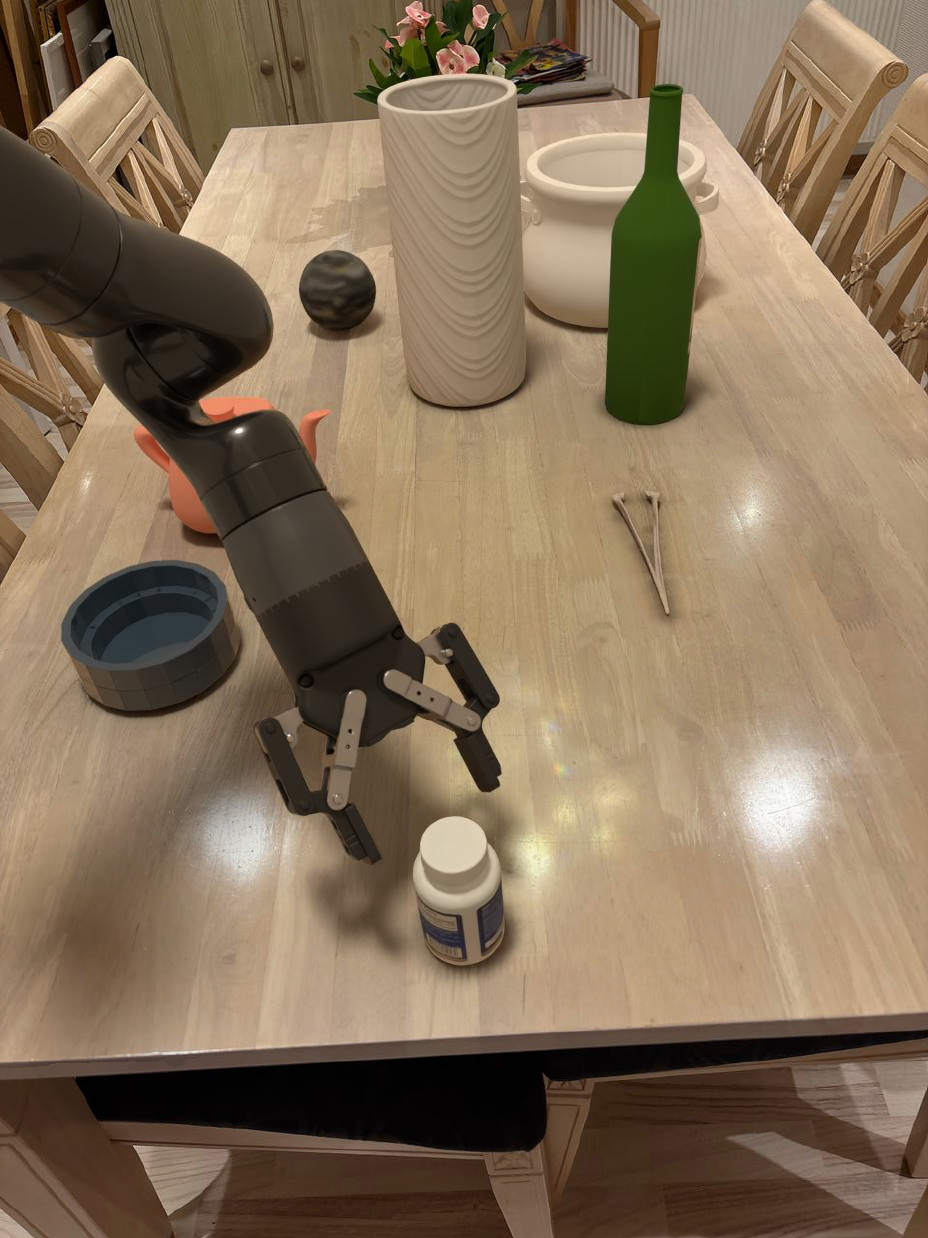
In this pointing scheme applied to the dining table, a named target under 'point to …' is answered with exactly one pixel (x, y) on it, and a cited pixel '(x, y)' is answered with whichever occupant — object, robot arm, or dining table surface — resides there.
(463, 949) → the pill bottle
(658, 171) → the wine bottle
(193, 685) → the bowl
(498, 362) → the vase
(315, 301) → the decorative stone
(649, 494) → the jawbone
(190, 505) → the teapot
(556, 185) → the pot
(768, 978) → the dining table surface
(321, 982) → the dining table surface
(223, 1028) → the dining table surface
